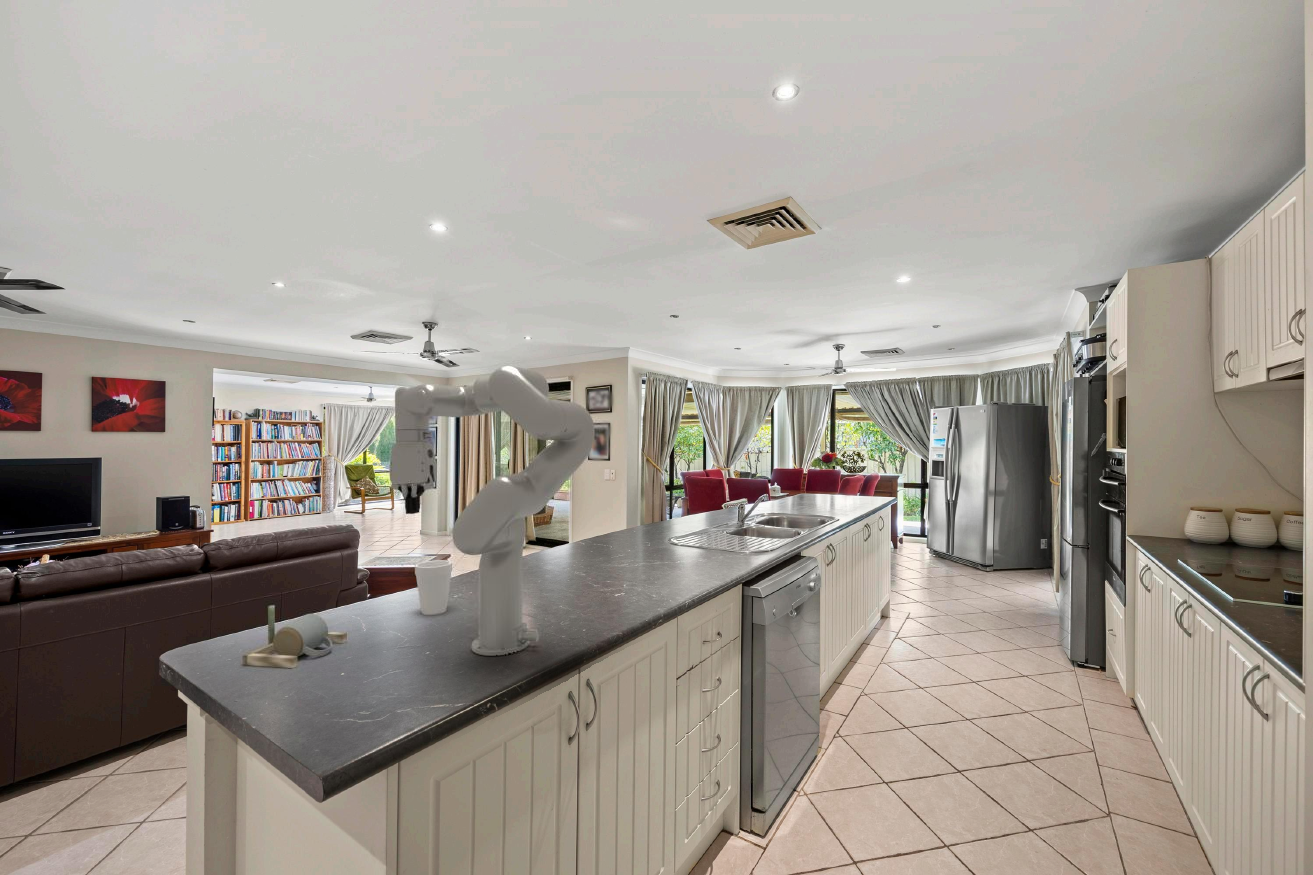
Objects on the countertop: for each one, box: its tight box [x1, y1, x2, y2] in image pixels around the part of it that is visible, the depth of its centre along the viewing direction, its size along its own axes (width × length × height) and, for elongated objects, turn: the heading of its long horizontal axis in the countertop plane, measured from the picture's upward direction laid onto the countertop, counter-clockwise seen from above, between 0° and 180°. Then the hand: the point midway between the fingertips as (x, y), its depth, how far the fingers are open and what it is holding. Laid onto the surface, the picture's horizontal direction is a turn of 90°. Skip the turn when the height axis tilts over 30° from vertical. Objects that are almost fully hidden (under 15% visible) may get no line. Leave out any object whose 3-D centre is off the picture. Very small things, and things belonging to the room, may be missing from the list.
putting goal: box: [241, 604, 348, 669], centre depth 122 cm, size 13×15×10 cm
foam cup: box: [414, 559, 453, 616], centre depth 151 cm, size 10×9×13 cm
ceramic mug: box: [273, 613, 333, 658], centre depth 121 cm, size 11×8×8 cm
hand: (412, 513), depth 134 cm, fingers closed
